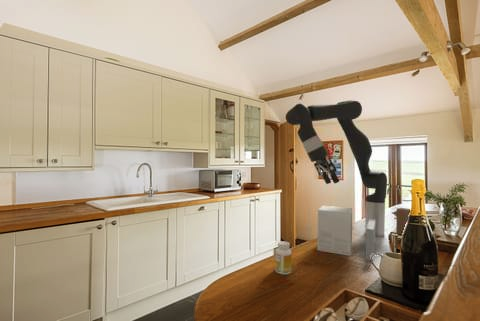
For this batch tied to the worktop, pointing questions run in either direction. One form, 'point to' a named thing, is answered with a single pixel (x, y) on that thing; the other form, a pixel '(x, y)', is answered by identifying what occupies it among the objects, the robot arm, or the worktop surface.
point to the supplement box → (335, 230)
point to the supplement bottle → (283, 258)
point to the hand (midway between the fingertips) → (332, 183)
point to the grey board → (370, 238)
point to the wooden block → (401, 219)
